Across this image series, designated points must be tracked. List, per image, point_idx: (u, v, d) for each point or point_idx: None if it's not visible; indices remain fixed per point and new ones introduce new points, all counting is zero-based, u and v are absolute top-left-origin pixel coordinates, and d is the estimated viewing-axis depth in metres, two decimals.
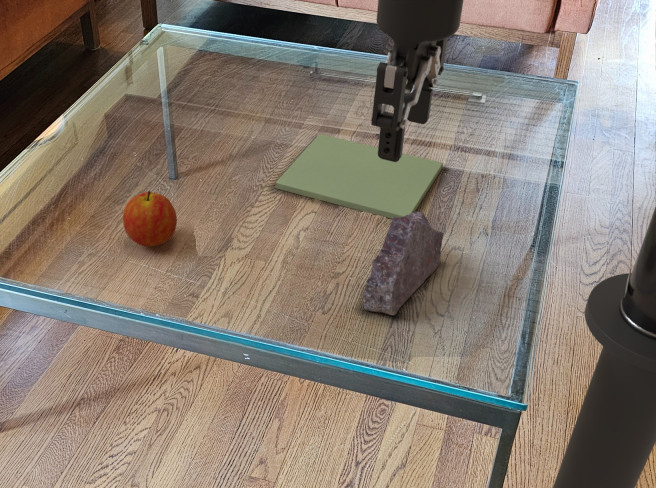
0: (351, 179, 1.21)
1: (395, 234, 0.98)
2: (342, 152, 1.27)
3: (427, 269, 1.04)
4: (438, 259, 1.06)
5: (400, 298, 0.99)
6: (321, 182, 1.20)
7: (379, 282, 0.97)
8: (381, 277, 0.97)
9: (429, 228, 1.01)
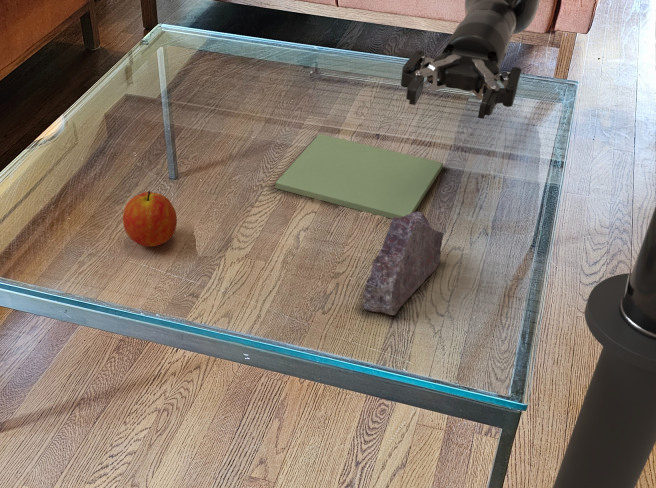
0: (351, 179, 1.21)
1: (394, 234, 0.98)
2: (342, 152, 1.27)
3: (427, 269, 1.04)
4: (438, 259, 1.06)
5: (400, 298, 0.99)
6: (321, 182, 1.20)
7: (379, 283, 0.97)
8: (381, 277, 0.97)
9: (429, 228, 1.01)
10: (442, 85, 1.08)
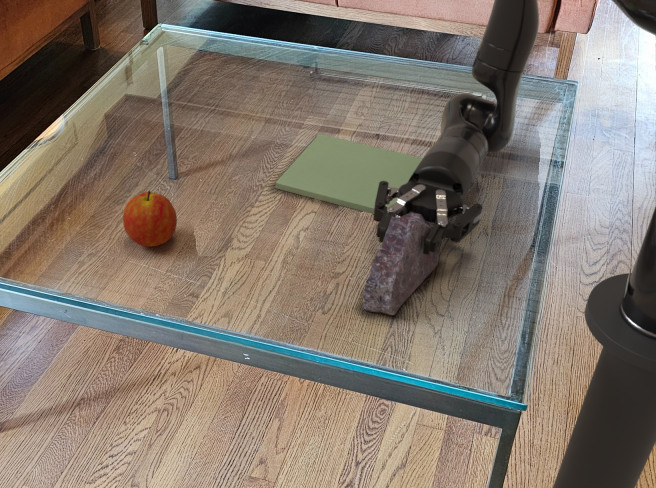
0: (351, 179, 1.21)
1: (393, 234, 0.98)
2: (342, 152, 1.27)
3: (426, 268, 1.04)
4: (437, 258, 1.06)
5: (399, 298, 0.99)
6: (321, 182, 1.20)
7: (378, 283, 0.97)
8: (380, 277, 0.97)
9: (427, 228, 1.01)
10: None
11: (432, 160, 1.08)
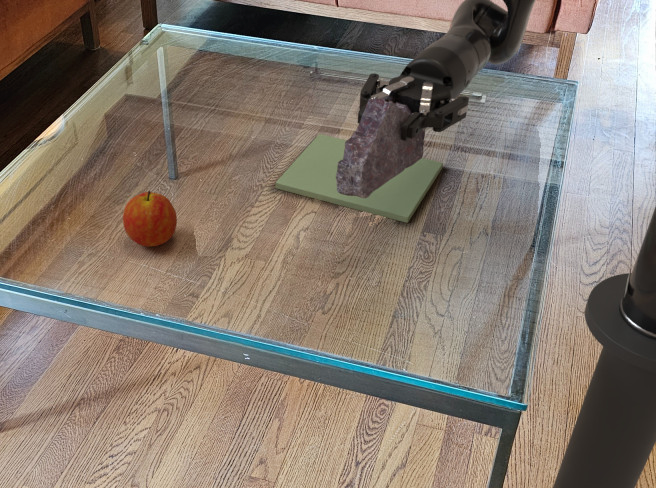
0: None
1: (369, 116, 0.98)
2: (342, 152, 1.27)
3: (406, 159, 1.03)
4: (420, 151, 1.05)
5: (372, 182, 0.99)
6: (321, 182, 1.20)
7: (350, 163, 0.97)
8: (352, 157, 0.97)
9: (408, 114, 1.00)
10: None
11: (425, 54, 1.07)
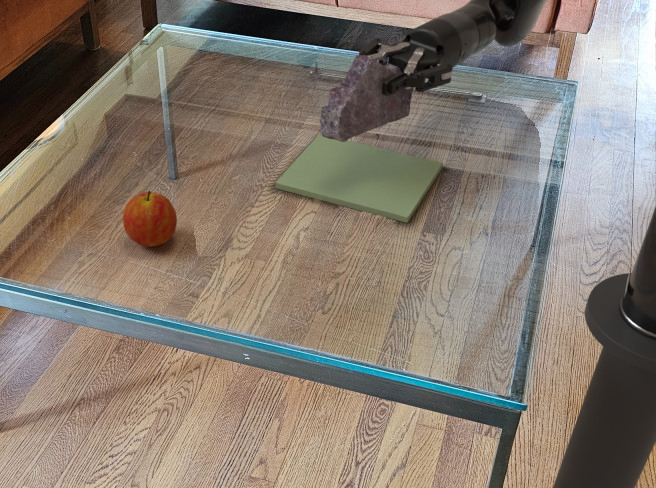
0: (351, 179, 1.21)
1: (355, 70, 1.12)
2: (342, 152, 1.27)
3: (390, 114, 1.16)
4: (406, 109, 1.18)
5: (351, 128, 1.12)
6: (321, 182, 1.20)
7: (330, 109, 1.11)
8: (333, 104, 1.11)
9: (392, 73, 1.13)
10: None
11: (425, 24, 1.19)
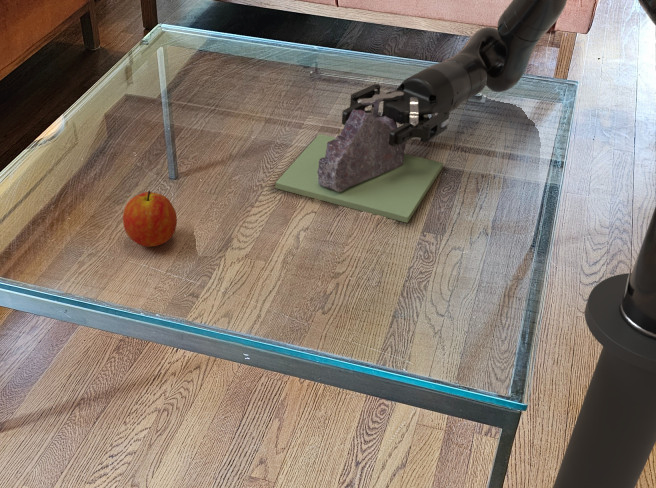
0: None
1: (351, 124, 1.17)
2: None
3: (384, 164, 1.21)
4: (400, 160, 1.23)
5: (347, 179, 1.18)
6: None
7: (328, 160, 1.16)
8: (330, 156, 1.16)
9: (387, 126, 1.18)
10: None
11: (418, 74, 1.24)
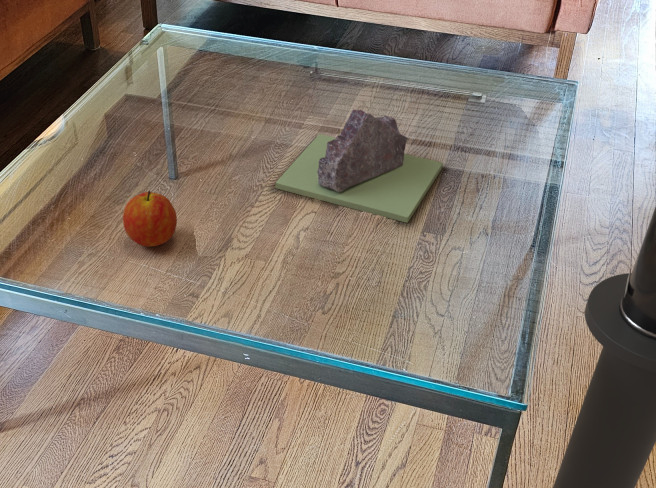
0: None
1: (351, 124, 1.17)
2: None
3: (384, 164, 1.21)
4: (400, 160, 1.23)
5: (347, 179, 1.18)
6: None
7: (328, 160, 1.16)
8: (330, 156, 1.16)
9: (387, 126, 1.18)
10: None
11: None
